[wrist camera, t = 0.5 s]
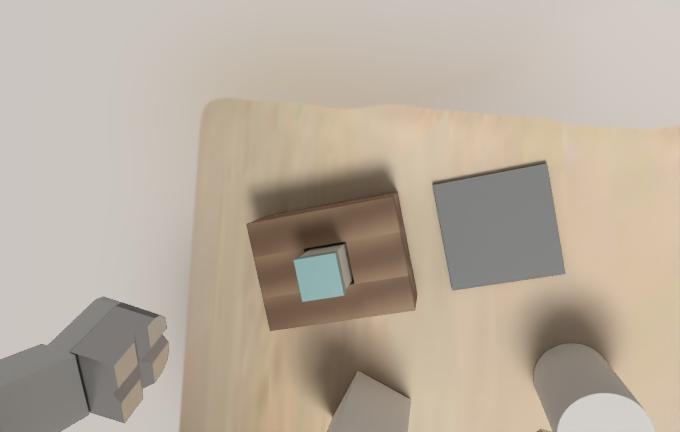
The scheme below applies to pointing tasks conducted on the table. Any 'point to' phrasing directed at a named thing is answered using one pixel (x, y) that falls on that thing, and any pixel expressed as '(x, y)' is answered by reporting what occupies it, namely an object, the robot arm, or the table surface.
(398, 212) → the block
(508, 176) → the mat
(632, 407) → the cup
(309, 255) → the plug
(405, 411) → the milk carton
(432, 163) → the table surface
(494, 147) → the table surface
